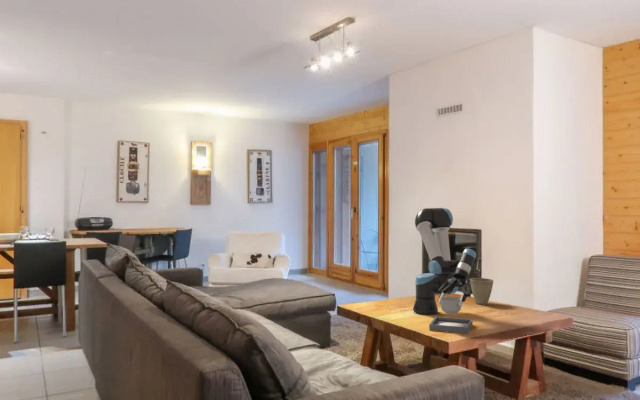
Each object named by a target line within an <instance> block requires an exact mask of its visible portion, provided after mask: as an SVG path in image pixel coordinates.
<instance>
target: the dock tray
mask: <svg viewBox="0 0 640 400" xmlns="http://www.w3.org/2000/svg"><path fill="white" fill-rule="evenodd" d="M472 327H473V319H471V318H458V317H449V316H448V317H447V316H445V317H444V316H434V317H433V319H432V320H431V322H430V323H429V325H428V330H429V329H430V330H429V331H432V330H439V331H438V332H443V331H448V332H447V333H454V332H456V333H457V334H464V335H465V334H466V335H467V334H470V331H471V329H472Z"/></svg>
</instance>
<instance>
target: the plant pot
mask: <svg viewBox="0 0 640 400" xmlns="http://www.w3.org/2000/svg"><path fill="white" fill-rule="evenodd" d="M469 280H470V281H471V286H470V289H471V294H472V297H473V299H474V301H475V304H477V305H488V303H489V300H490V298H491V294H492V291H493V287H494V285H493V284H494V279H491V278H483V277H473V278H470V279H469Z"/></svg>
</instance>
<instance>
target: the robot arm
mask: <svg viewBox="0 0 640 400" xmlns="http://www.w3.org/2000/svg"><path fill="white" fill-rule="evenodd" d="M453 218H454V217H453V214H452V212H451V211H450V209H448V208H445V207H429V208H428V207H426V208H423V209H421V210H419V211H418V212H417V214H416V216H415V218H414V226H415V228H416V231H417V232H419V234H420V237H421V241H422V242H423V245H424V247H425V251H426V252H427V254H428V258H429V260H430V262H429V263H428V269H429V270H428V271H429V272H427V273H420V274H418V275H417V276H416V277H415V301H414V304H413V307H412V312H413V311H414V312H416V313H415V314H417V313H420V314H419V315H426V314H430V315H436V314H438V313H439V308H438V305H437V302H436V295H438V304H439V306H441V301H440V298H442V297H446V295H450V294H455V293H457V291H458V290H459V288H461V291H462V294H461V295H460V301H459V303H458V305H459V307H460V308H461V309H462V307H463V304H464V303H465V302H466V301H467V298H471V295H472V289H471V281H470V279H468V278H469V275H470V273H471V270H472V267H473V264H474V262H475V260H476V257H477V253H476V251H475V250H473V249H471V248H465V249H464V250H463V251H462V253H461V256H460V257H458V258H457V259H456V260H454V259H453V260H452V259H451V249H450V240H449V230H450V229H451V226H452V225H453V222H454V219H453ZM464 285H466V289H465V286H464ZM414 312H413V313H414Z"/></svg>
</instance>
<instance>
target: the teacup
mask: <svg viewBox="0 0 640 400" xmlns="http://www.w3.org/2000/svg"><path fill="white" fill-rule="evenodd" d="M460 298H461V296H460V297H459V296H448V295H447V296H445V297H442V298H439V299H440V301H441V305H440V308H441V310H442V312H444V313H445V314H448V315H454V314H458V313H459V312H460V311H461V310H462V307H461V308H460V307H459V305H458V303H459V301H460Z"/></svg>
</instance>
